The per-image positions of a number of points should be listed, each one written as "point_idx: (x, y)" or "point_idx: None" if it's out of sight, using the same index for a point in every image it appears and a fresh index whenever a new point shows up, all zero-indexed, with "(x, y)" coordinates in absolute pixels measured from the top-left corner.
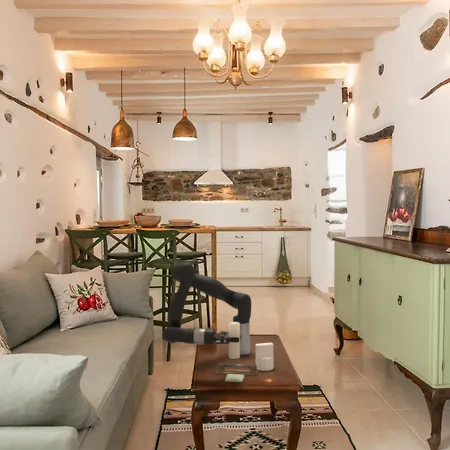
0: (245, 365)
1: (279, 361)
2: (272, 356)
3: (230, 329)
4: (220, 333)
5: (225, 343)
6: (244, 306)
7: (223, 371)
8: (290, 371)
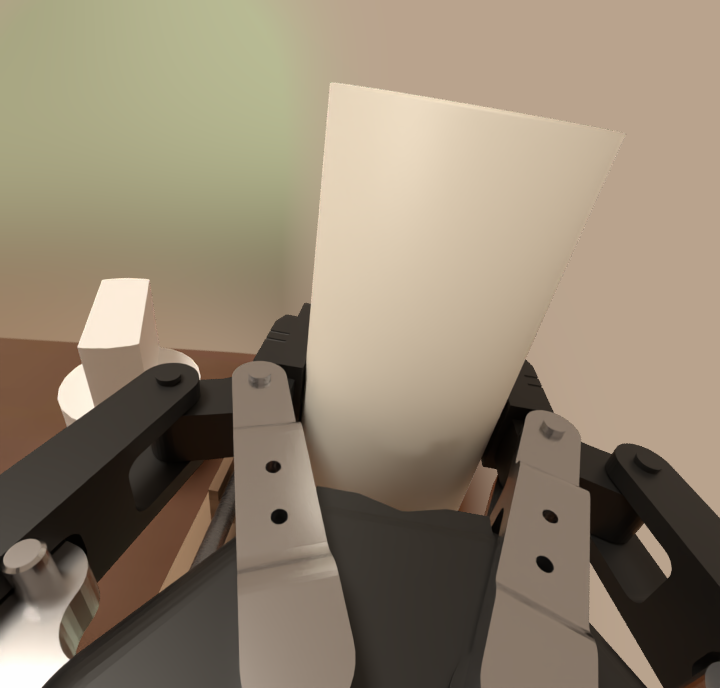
0: (222, 528)
1: (75, 365)
2: (165, 351)
3: (559, 278)
4: (344, 644)
5: (647, 569)
6: None
7: None
8: (244, 356)
